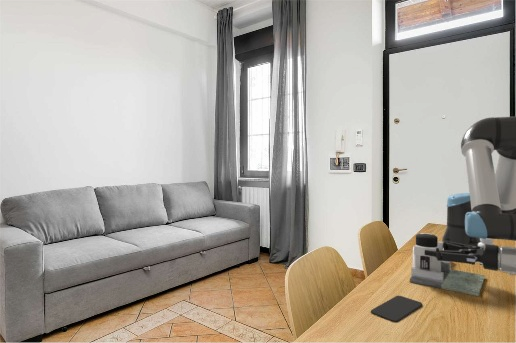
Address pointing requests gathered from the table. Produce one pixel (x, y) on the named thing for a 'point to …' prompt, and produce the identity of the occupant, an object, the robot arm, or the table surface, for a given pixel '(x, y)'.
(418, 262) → the container
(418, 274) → the board
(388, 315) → the phone
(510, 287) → the table surface
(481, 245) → the supplement bottle
